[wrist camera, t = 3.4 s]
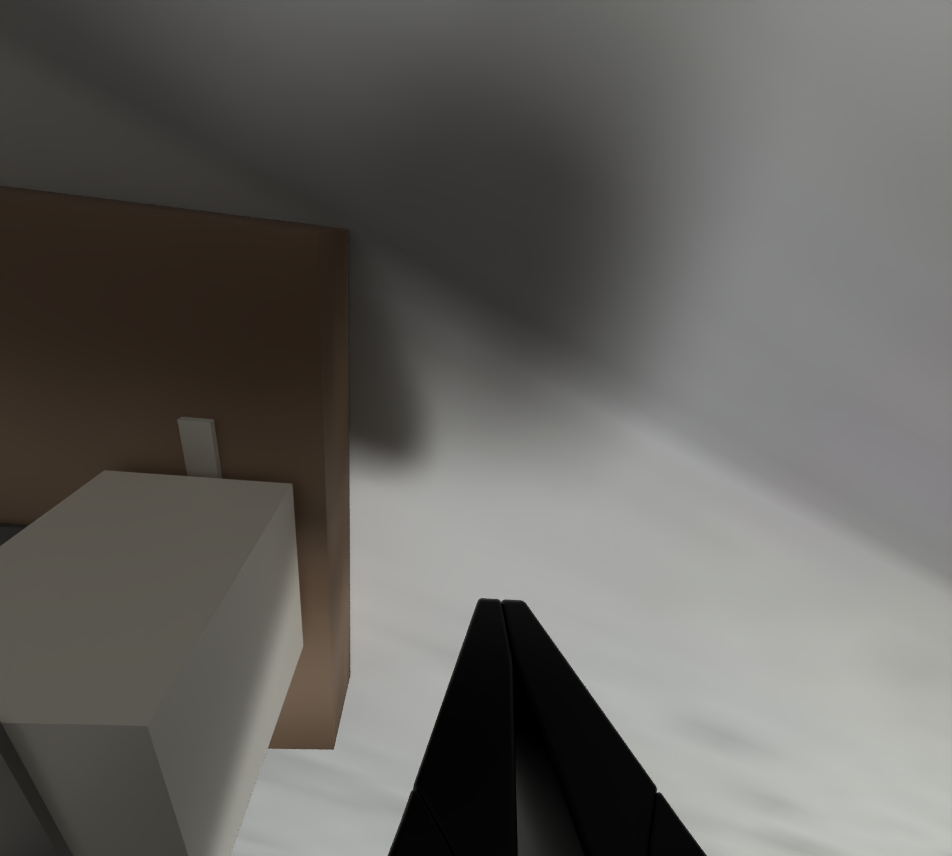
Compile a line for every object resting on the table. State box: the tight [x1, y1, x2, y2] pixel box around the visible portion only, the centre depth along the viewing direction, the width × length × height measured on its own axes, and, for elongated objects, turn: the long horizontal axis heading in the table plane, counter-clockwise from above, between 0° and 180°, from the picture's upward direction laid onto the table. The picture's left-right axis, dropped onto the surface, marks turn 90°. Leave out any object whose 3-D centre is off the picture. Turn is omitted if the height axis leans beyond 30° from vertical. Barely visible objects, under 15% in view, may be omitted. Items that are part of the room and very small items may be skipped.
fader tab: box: [0, 470, 303, 856], centre depth 6 cm, size 4×3×4 cm
